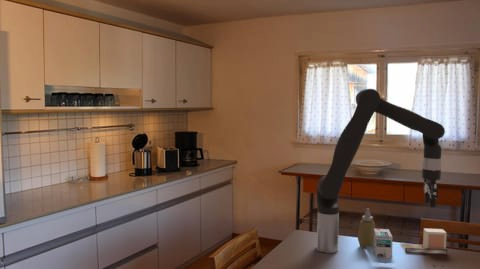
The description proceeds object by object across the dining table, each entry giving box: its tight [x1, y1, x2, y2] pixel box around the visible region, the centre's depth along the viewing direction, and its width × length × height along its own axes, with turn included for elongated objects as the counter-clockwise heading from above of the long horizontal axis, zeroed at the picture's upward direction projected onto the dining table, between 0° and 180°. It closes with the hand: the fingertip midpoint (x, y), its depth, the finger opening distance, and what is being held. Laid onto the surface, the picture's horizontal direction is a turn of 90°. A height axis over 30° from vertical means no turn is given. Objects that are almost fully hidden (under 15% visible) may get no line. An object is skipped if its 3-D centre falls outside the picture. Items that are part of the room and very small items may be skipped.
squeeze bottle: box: [357, 207, 376, 250], centre depth 198 cm, size 8×8×18 cm
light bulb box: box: [373, 227, 393, 259], centre depth 186 cm, size 11×7×11 cm, turn 168°
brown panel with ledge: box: [399, 242, 448, 255], centre depth 192 cm, size 17×12×4 cm
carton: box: [422, 227, 447, 249], centre depth 189 cm, size 5×8×9 cm, turn 82°
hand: (429, 204), depth 191 cm, fingers open, 8 cm apart
